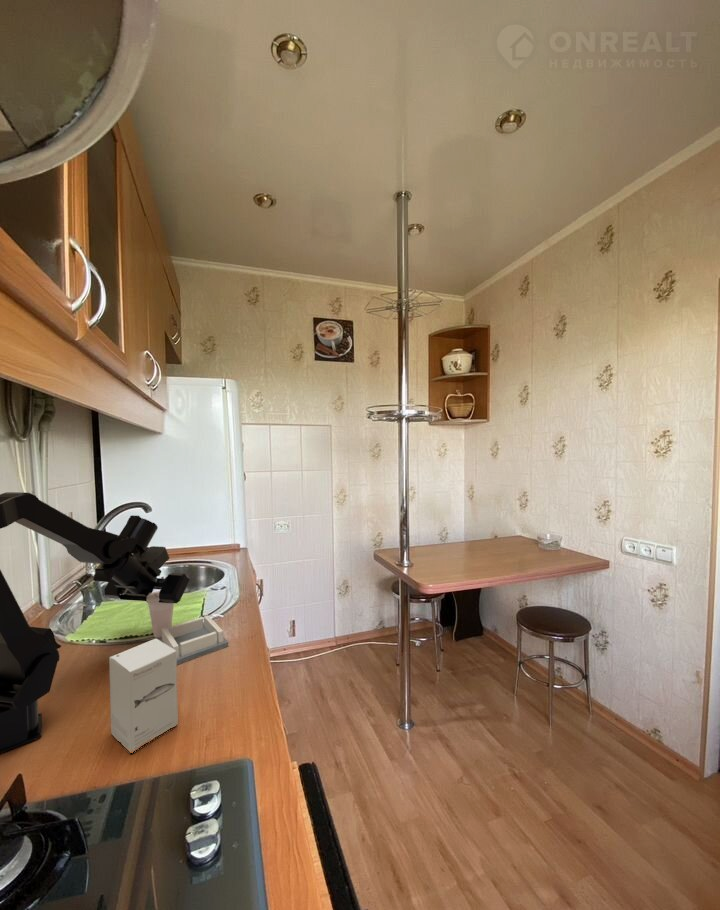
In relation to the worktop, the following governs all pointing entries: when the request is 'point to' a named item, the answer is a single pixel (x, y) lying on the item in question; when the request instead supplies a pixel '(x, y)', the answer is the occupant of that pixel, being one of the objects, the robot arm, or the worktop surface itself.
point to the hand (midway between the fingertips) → (165, 600)
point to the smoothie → (159, 613)
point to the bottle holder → (194, 638)
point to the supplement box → (143, 693)
